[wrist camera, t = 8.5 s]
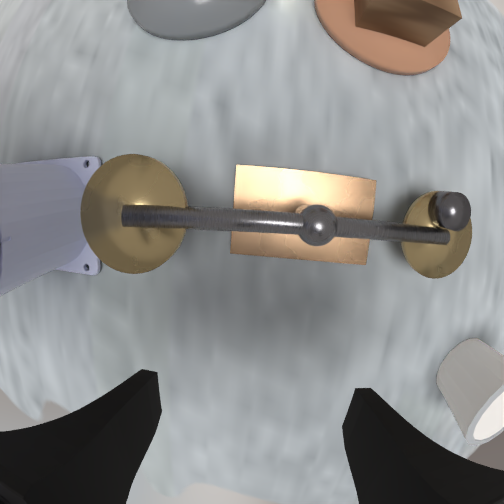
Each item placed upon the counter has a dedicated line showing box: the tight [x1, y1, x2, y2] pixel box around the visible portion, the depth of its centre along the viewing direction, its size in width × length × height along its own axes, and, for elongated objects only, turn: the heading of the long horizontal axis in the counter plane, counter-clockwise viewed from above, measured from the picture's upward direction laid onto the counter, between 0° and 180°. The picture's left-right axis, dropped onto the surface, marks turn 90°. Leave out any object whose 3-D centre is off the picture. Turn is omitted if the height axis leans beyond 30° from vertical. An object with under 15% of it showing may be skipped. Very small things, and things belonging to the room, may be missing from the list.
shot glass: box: [436, 338, 504, 446], centre depth 16 cm, size 7×7×7 cm
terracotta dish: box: [314, 0, 450, 75], centre depth 14 cm, size 10×10×1 cm
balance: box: [80, 154, 472, 278], centre depth 14 cm, size 21×5×7 cm, turn 86°
